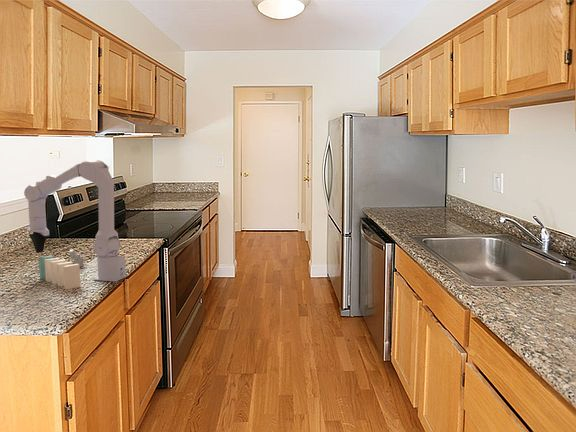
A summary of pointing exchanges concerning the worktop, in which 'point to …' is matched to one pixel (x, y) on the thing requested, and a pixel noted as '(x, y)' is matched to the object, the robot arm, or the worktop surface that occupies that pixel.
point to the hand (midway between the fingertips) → (39, 252)
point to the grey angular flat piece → (76, 258)
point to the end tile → (43, 266)
